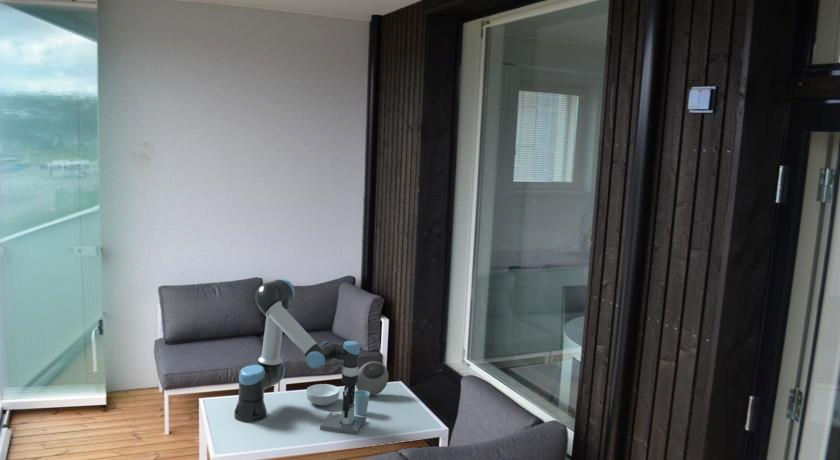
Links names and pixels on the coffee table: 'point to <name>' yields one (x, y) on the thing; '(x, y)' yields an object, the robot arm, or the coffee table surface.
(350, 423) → the plug
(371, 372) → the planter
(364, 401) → the cup
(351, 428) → the socket plate
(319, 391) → the cereal bowl
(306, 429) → the coffee table surface
